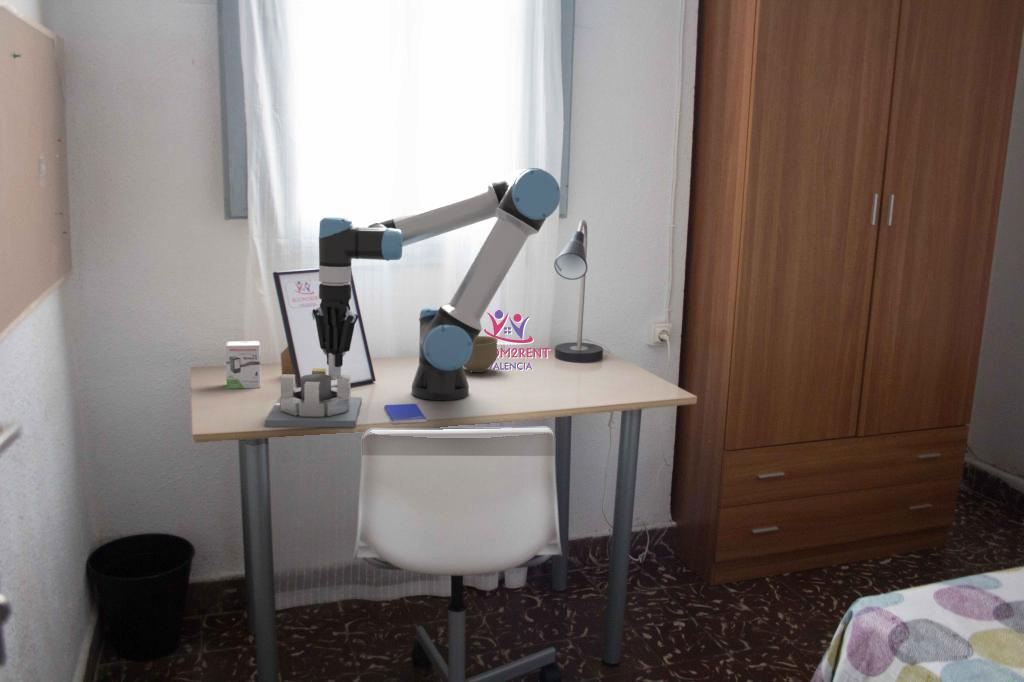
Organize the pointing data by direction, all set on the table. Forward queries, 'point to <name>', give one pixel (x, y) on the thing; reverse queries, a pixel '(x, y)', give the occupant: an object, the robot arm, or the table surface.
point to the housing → (337, 420)
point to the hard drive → (404, 413)
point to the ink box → (243, 364)
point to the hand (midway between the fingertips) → (334, 378)
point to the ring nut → (314, 396)
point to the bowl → (482, 354)
